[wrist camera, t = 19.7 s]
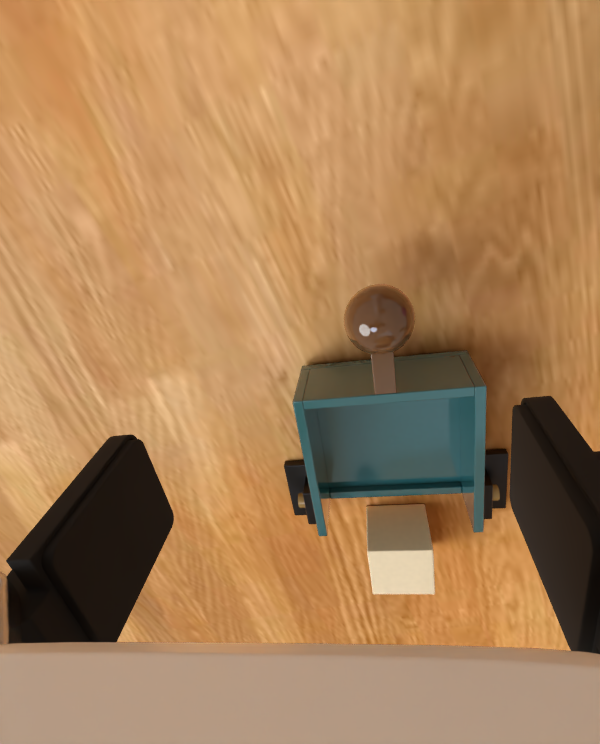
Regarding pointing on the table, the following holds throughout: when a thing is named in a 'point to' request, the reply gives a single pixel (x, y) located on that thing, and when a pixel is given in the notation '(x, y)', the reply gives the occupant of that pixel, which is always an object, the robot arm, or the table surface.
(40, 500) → the table surface
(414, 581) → the block
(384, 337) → the teal drawer box
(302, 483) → the cradle
